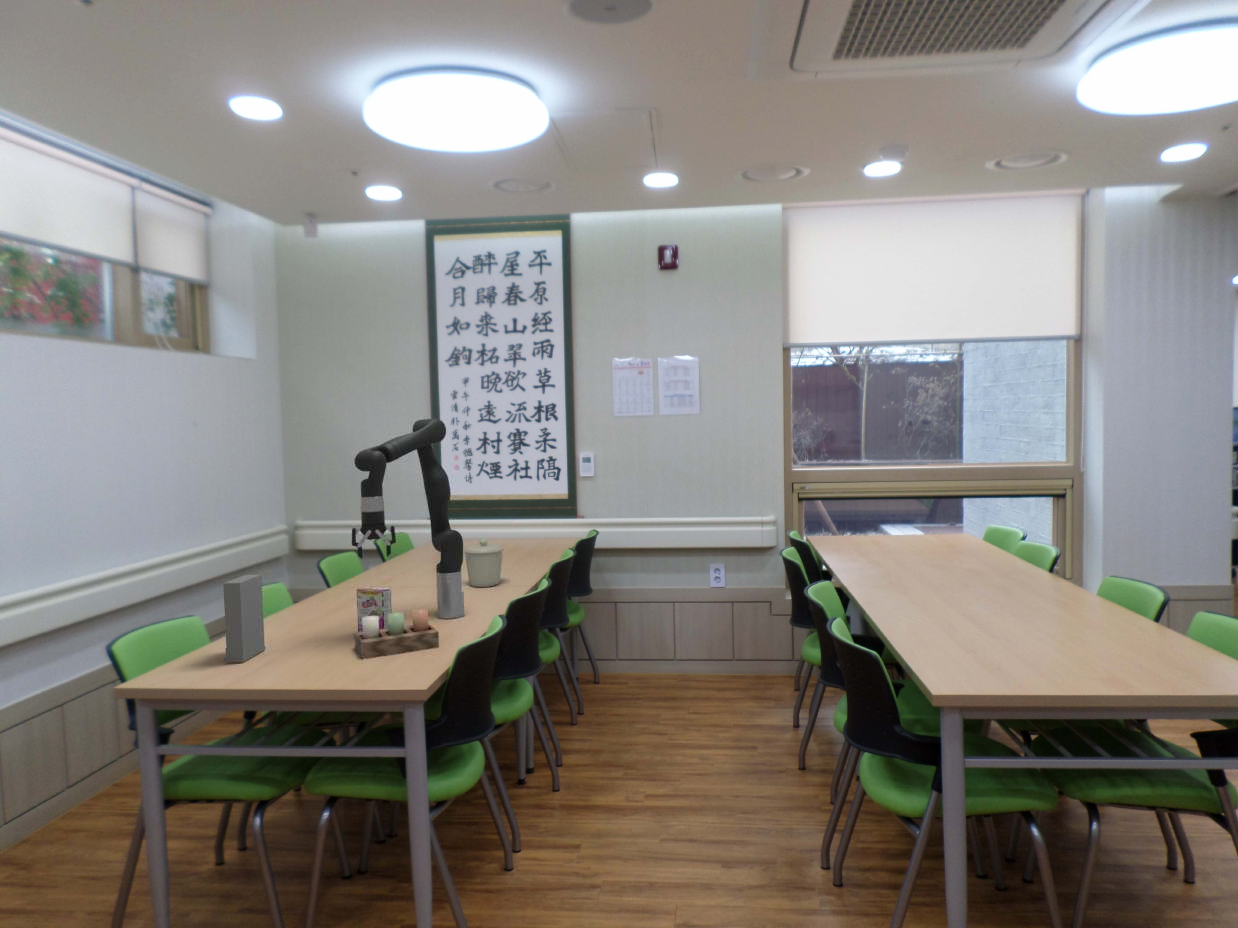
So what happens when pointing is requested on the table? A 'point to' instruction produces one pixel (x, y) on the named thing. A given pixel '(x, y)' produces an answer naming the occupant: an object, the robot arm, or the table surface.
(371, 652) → the button board
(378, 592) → the candy bar box
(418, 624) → the pink candle
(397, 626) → the green pillar candle
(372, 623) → the button cream
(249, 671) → the table surface
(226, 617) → the upright grey tower
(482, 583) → the canister
